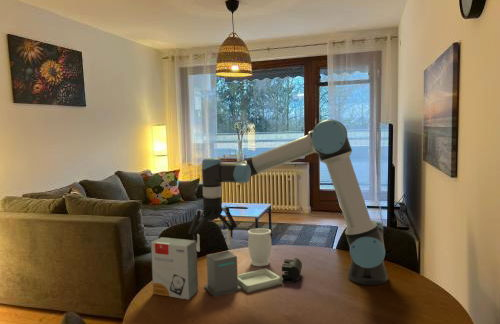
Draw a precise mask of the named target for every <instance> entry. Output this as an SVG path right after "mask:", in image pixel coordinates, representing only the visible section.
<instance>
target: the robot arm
mask: <svg viewBox="0 0 500 324" xmlns="http://www.w3.org/2000/svg"><path fill="white" fill-rule="evenodd" d="M352 152H353V149H352V146H351V144H350V141H349V138H348V131H347V128H346V126H345V125H344V124H343V123H342V122H340V121H338V120H336V119H331V118H330V119H324V120H322V121H320V122H318V123H317V124H316V125H315V126H314V128H313V129H312V130H310V131H308V134H306V135H304V136H302V137H299V138H297V139H294V140H291V141H290V142H286V143H284V144H282V145H279V146H277V147H274V148H272V149H269V150H266V151H264V152H261V153H260V154H257V155H254V156H252V157H249V158H247V159H246V158H245V159H244V160H241V161H238V162H235V163H234V162H233V163H223V162H222V160H221V158H219V157H210V158H209V157H206V158H203V159H202V162H201V165H202V166H201V174H202V175H201V176H202V177H201V178H202V196H203V197H202V209H196V210H195V212H194V213H195V215H194V216H193V220H192V221H191V224H190V226H189V229H188V234H189V235H192V238H193V239H192V240H194V241H196V245H197V252H199V253H200V251H201V248H200V247H201V246H200V245H201V244H200V243H201V241H200V238H201V237H200V234H199V233H200V232H201V231H202V229H203V227H204V226H205V225H206V223H207V222H208V221H209V220H210V221H212V220H218V219H219V220H220V221H221V222H222V224H223V225H225V227H226V229H225V231H226V245H227V246H229V247H231V246H232V238H233V235H234V234H233V231H234V229H235V228H236V229H237V227H238V225H237V224H236V221H235V220H234V218H233V216H232V213H231V212H230V207H229V206H227V205H224V206H223V207H222V205H223V204H222V203H223V201H222V200H223V199H222V194H223V193H222V183H236V184H242V183H243V184H246V183H248V182H250V179H251V178H252V177H254V176H256V175H258V174H261V173H264V172H266V171H269V170H271V169H274V168H277V167H280V166H283V165H285V164H287V163H290V162H293V161H296V160H298V159H301V158H304V157H306V156H309V155H312V154H314V153H315V154H318V156H319V157H318V158H319V160H320V162H321V163H324V164H325V165H326V167H327V171H328V173H329V174H328V175H329V176H330V180H331V182H332V186H333V188H334V191H335V194H336V198H337V200H338V203H339V205H340V209H341V212H342V215H343V218H344V221H345V224H346V226H347V227H346V229H345V231H344V234H345V237H346V240H347V243H348V246H349V256H350V257H351V260H350V263H349V268H348V269H347V278H348V279H349V280H350V281H351V282H353V283H356V284H360V285H364V286H380V285H383V284H386V283H387V282H388V281H389V275H388V271H387V269H386V266H385V262H384V259H385V256H386V252H387V251H386V248H385V242H384V224H383V222H382V221H378V220H371V216H370V213H369V210H368V208H367V205H366V201H365V199H364V196H363V192H362V190H361V187H360V184H359V181H358V179H357V175H356V173H355V169H354V166H353V163H352V161H351V157H350V156H351V155H352ZM223 213H224V214H225V216H226V218H227V219H228V220H226V218H225V217H224V216H223V215H222V214H223ZM202 214H203V216H202ZM201 216H202V218H201ZM200 218H201V220H200ZM199 220H200V221H199Z"/></svg>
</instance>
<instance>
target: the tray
mask: <svg viewBox="0 0 500 324" xmlns="http://www.w3.org/2000/svg"><path fill="white" fill-rule="evenodd" d="M237 275H238V285H239V286H240V287H241V289H242V290H243V291H244V292H246V293H252V292H255V291H260V290H264V289H267V288H271V287H276V286H280V285H282V284H283V281H282V279H283V278H282V276H280V275H278V274H277V273H274V271H271V270H270V269H269V268H266V267H264V268H261V269H256V270H252V271H248V272H244V273H240V274H239V273H237Z"/></svg>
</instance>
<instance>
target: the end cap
mask: <svg viewBox="0 0 500 324" xmlns="http://www.w3.org/2000/svg"><path fill="white" fill-rule="evenodd" d="M302 268H303V262H302V261H301V260H300V259H299V258H297V257H294V258H293V259H286V258H285V259H283V263H282V266H281V272H283V273H282V274H281V278H282V283H283V282H284V283H295V282H296V281H298V280H299V279H300V277H301V272H302Z"/></svg>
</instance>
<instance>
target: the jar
mask: <svg viewBox="0 0 500 324" xmlns="http://www.w3.org/2000/svg"><path fill="white" fill-rule="evenodd" d="M271 234H272V230H271V229H270V228H265V227H264V228H263V227H258V228H257V227H256V228H250V229H249V230H248V231H247V235H248V239H247V240H248V241H247V246H248V252H249V256H250V259H251V262H250V264H251V265H252V266H253V267H265V266H268V265H270V262H271V261H270V257H271V251H272V236H271Z"/></svg>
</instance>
